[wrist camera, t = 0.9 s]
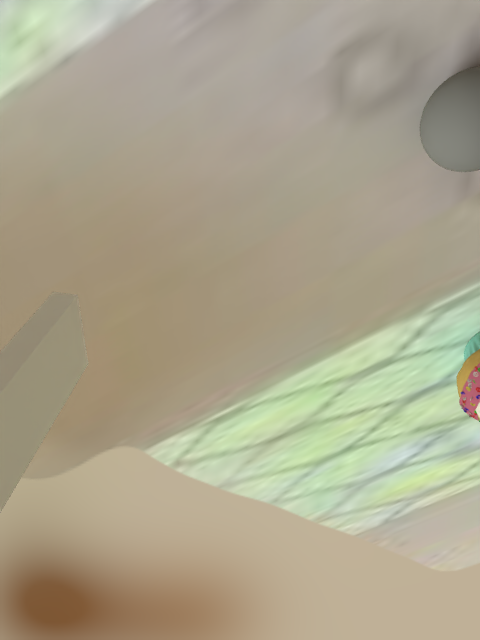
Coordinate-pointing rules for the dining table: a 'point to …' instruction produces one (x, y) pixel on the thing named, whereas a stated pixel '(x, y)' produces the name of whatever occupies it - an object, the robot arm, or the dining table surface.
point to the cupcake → (470, 378)
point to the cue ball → (454, 123)
